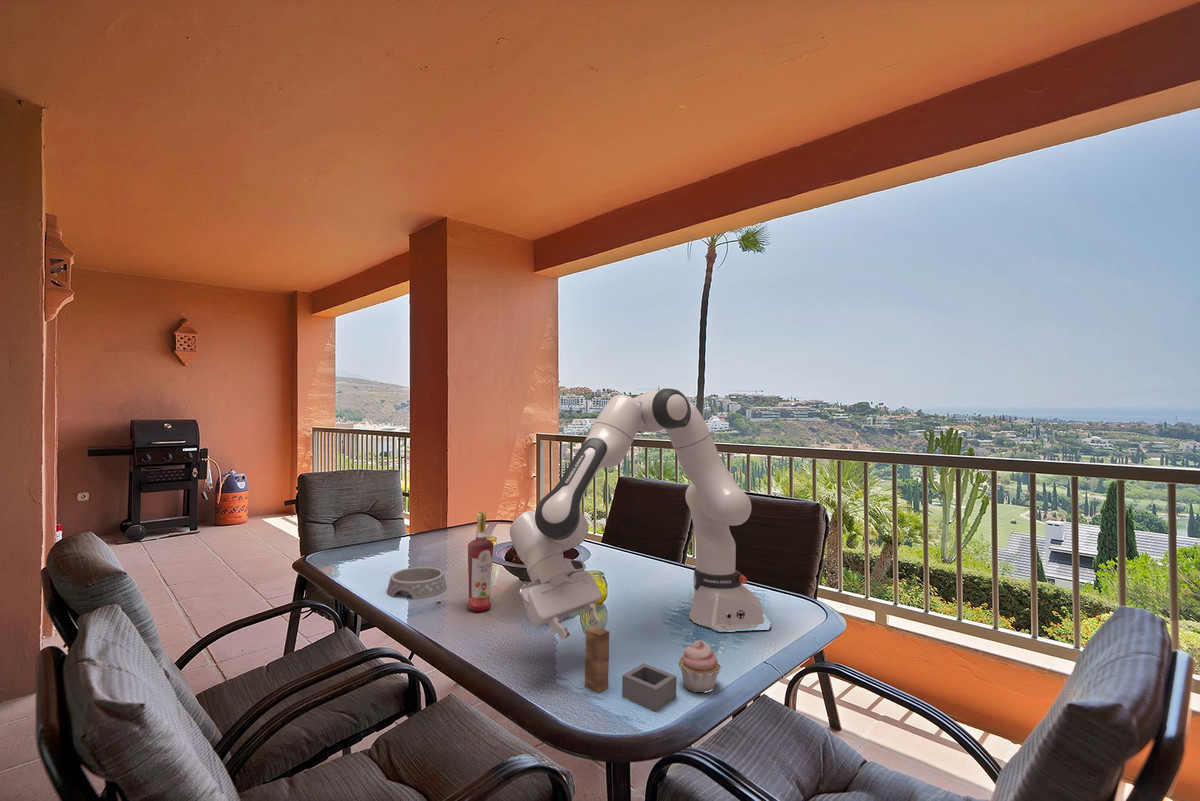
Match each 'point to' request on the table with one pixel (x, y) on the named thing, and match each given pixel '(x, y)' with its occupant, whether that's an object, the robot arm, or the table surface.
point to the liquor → (480, 567)
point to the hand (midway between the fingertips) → (581, 631)
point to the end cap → (649, 686)
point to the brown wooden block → (597, 659)
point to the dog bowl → (417, 582)
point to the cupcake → (699, 667)
